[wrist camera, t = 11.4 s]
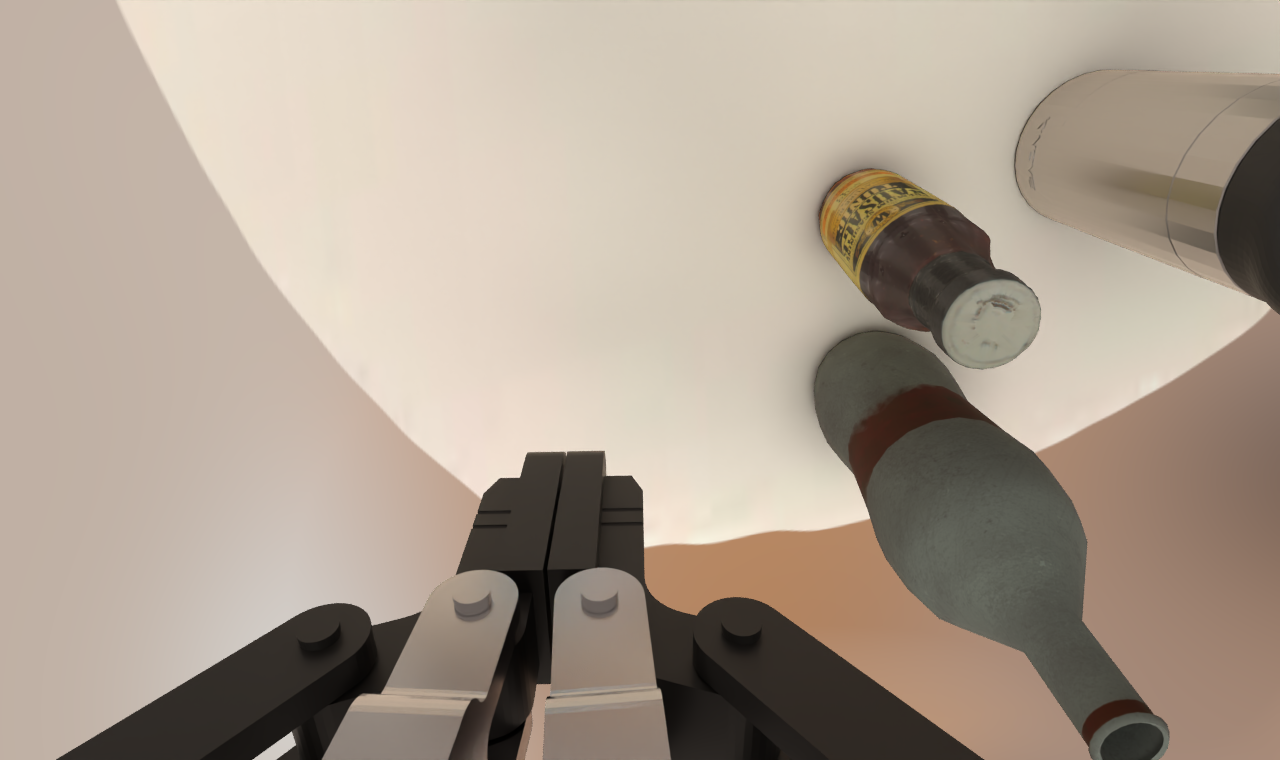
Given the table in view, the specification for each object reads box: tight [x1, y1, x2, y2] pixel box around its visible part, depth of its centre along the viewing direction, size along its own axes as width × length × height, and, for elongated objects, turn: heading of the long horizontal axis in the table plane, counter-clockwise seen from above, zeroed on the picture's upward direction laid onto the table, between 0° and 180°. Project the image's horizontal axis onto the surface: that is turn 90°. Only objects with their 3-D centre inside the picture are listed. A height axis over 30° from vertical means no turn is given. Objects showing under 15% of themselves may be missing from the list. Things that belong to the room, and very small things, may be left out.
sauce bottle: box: [819, 168, 1041, 370], centre depth 38 cm, size 6×6×20 cm
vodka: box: [814, 331, 1169, 760], centre depth 38 cm, size 9×9×30 cm
